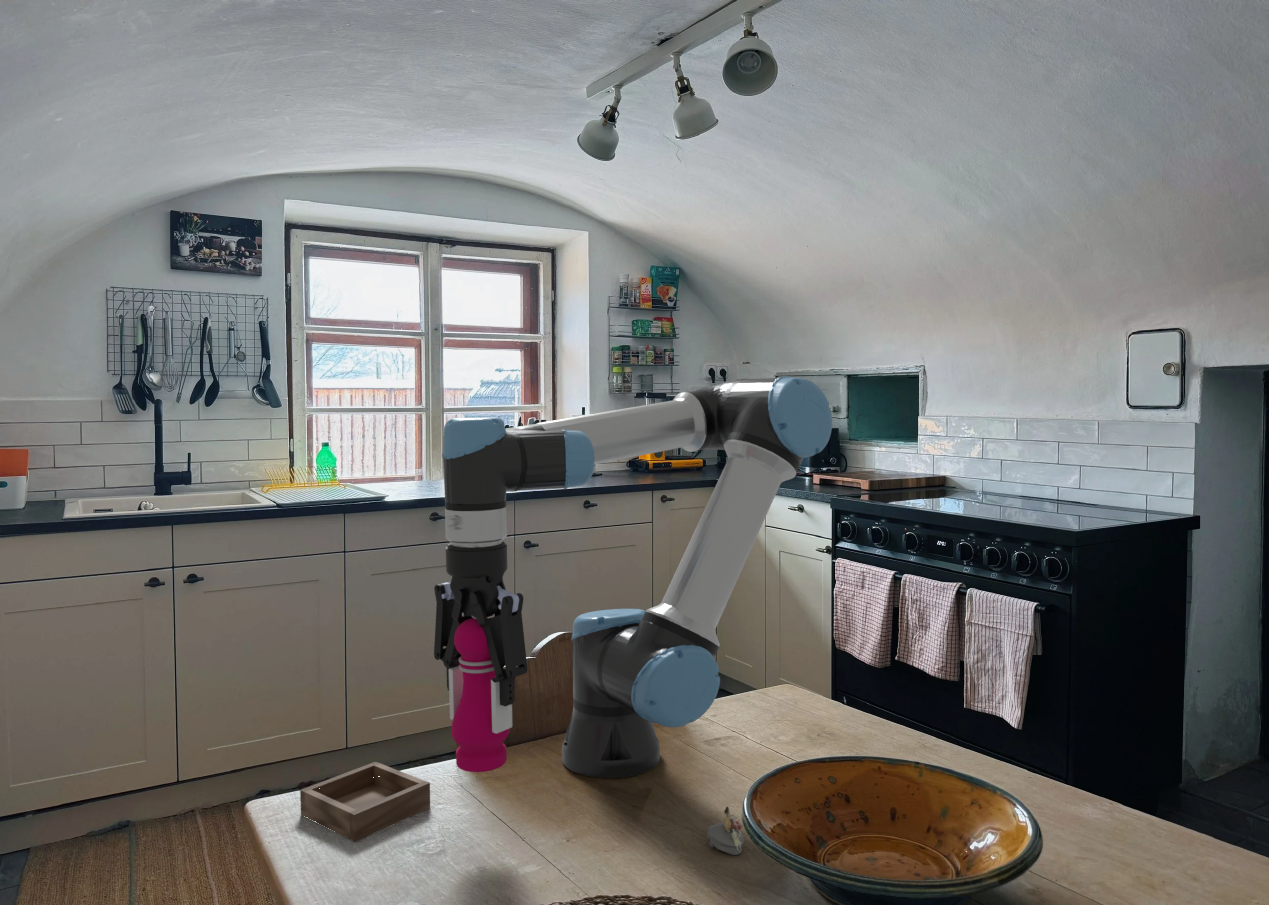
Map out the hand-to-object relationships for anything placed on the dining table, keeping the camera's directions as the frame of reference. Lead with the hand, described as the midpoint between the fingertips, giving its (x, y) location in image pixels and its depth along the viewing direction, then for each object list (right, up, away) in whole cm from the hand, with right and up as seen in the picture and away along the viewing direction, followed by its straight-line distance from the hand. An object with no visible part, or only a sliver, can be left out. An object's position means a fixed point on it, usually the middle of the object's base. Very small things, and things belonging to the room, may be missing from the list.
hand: (480, 722), depth 113 cm
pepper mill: (0, -5, 0) cm, 5 cm away
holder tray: (-17, -15, +8) cm, 24 cm away
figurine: (+31, -15, -2) cm, 34 cm away
